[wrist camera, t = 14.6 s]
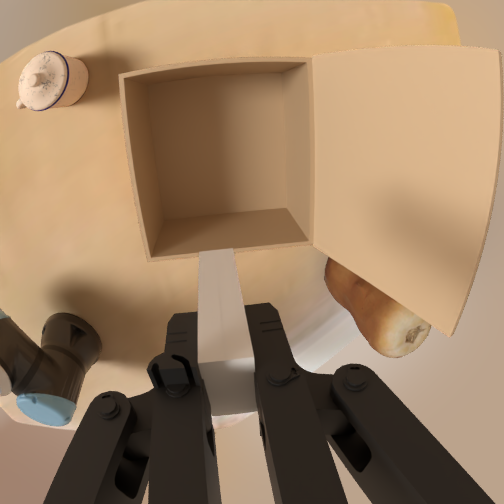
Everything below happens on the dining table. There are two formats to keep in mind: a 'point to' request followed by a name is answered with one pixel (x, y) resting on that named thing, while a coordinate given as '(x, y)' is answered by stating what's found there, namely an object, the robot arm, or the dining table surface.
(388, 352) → the butternut squash
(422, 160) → the carton lid
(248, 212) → the carton
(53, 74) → the teacup with lid
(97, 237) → the dining table surface
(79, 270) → the dining table surface
